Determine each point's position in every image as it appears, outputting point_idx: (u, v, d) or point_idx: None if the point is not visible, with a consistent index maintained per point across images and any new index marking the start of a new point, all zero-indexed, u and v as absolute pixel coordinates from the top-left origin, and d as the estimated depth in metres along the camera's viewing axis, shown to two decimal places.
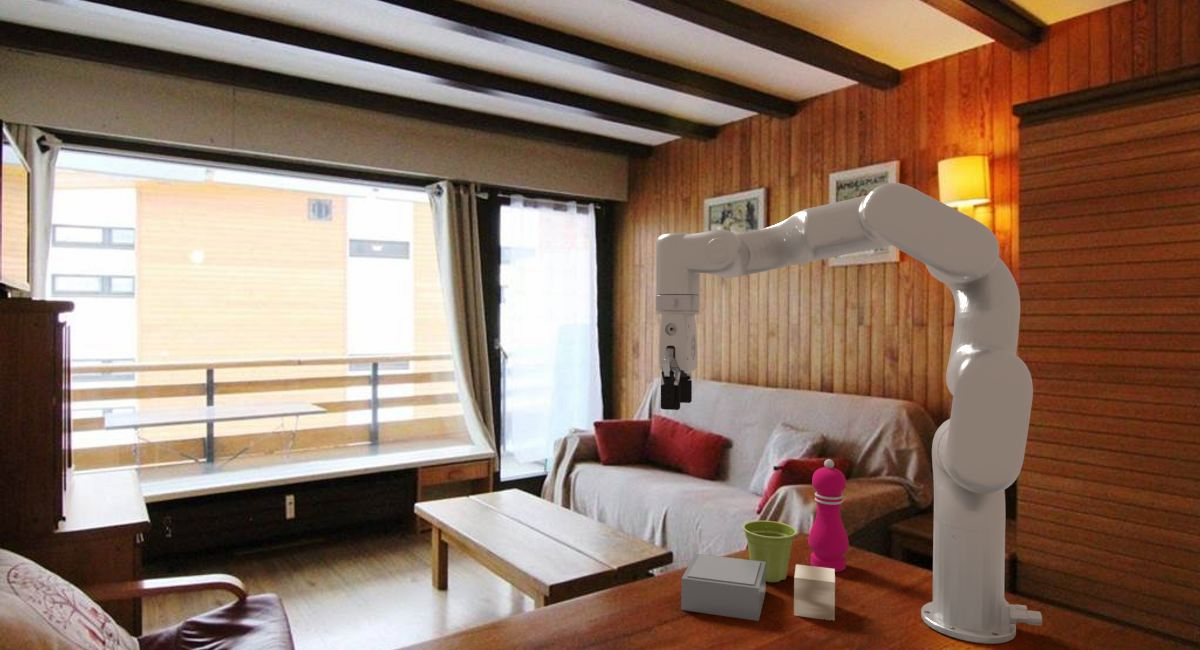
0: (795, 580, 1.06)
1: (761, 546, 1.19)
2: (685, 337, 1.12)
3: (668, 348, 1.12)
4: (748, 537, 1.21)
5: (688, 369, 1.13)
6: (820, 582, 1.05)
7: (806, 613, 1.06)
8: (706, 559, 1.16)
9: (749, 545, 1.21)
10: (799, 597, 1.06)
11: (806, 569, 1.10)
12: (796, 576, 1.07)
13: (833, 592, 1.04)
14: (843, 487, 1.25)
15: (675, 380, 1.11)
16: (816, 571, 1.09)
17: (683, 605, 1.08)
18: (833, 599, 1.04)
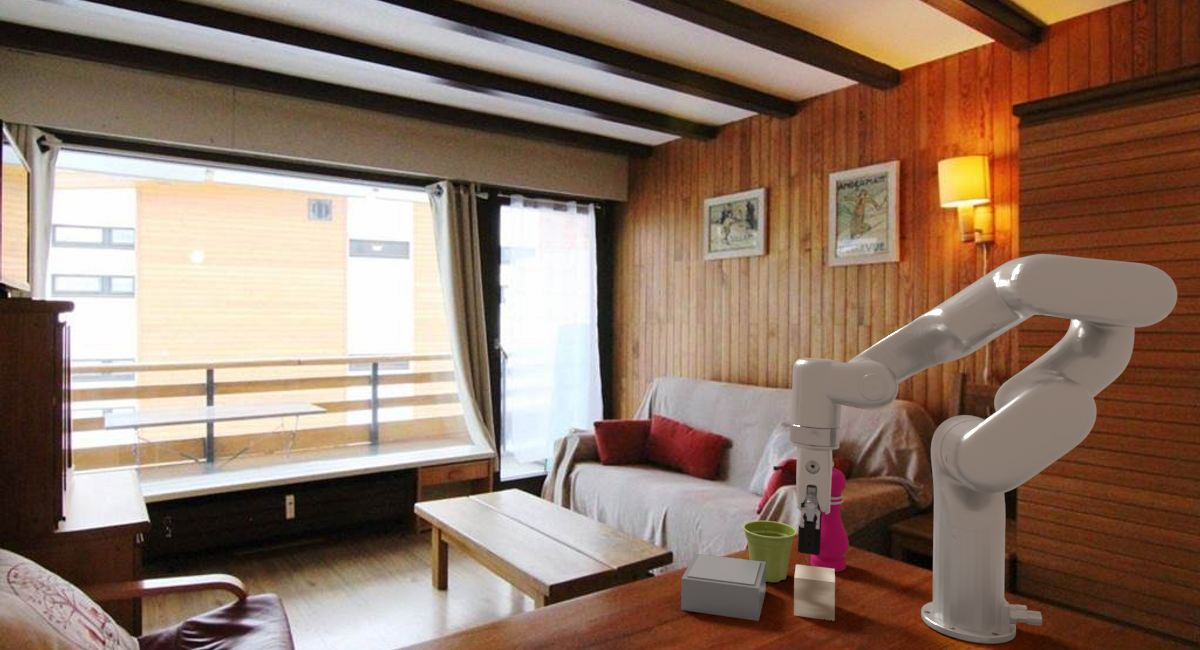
0: (795, 580, 1.06)
1: (762, 546, 1.19)
2: (828, 477, 1.03)
3: (809, 488, 1.03)
4: (748, 537, 1.21)
5: (829, 510, 1.04)
6: (820, 582, 1.05)
7: (806, 613, 1.06)
8: (706, 559, 1.16)
9: (749, 545, 1.21)
10: (799, 597, 1.06)
11: (806, 569, 1.10)
12: (796, 576, 1.07)
13: (833, 592, 1.04)
14: (843, 487, 1.25)
15: (817, 524, 1.02)
16: (816, 571, 1.09)
17: (683, 605, 1.08)
18: (833, 599, 1.04)
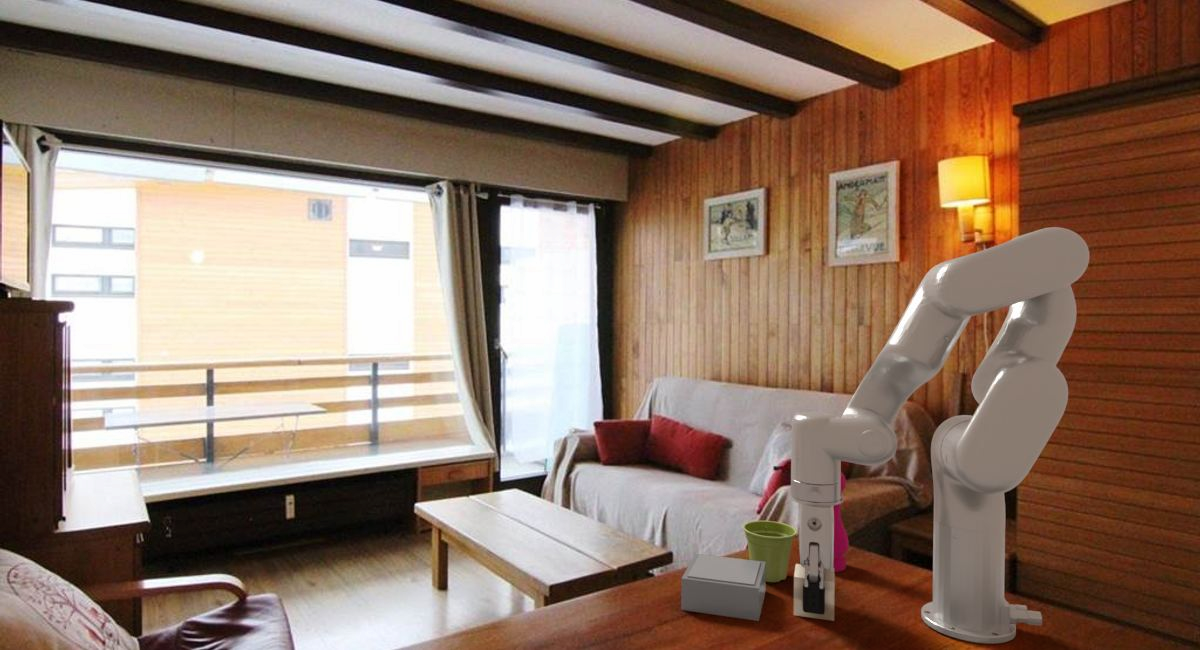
0: (795, 579, 1.06)
1: (761, 546, 1.19)
2: (830, 533, 1.03)
3: (811, 548, 1.03)
4: (748, 537, 1.21)
5: (832, 567, 1.04)
6: None
7: (806, 612, 1.06)
8: (706, 559, 1.16)
9: (749, 545, 1.21)
10: (799, 596, 1.06)
11: None
12: (796, 575, 1.07)
13: (833, 591, 1.04)
14: (843, 487, 1.25)
15: (821, 585, 1.04)
16: None
17: (683, 605, 1.08)
18: (833, 598, 1.04)
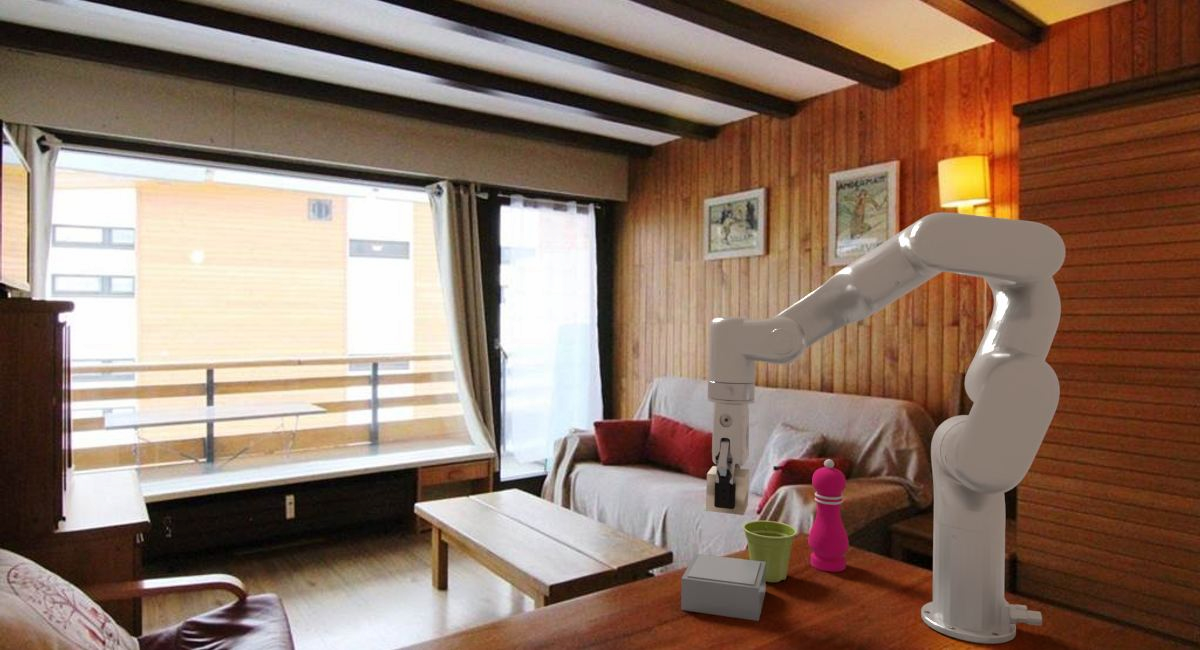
0: (708, 476, 1.09)
1: (762, 546, 1.19)
2: (741, 429, 1.06)
3: (722, 444, 1.07)
4: (748, 537, 1.21)
5: (743, 463, 1.07)
6: None
7: (717, 508, 1.09)
8: (706, 559, 1.16)
9: (749, 545, 1.21)
10: (711, 492, 1.09)
11: None
12: (709, 473, 1.10)
13: (743, 487, 1.08)
14: (843, 487, 1.25)
15: (731, 480, 1.07)
16: (730, 470, 1.12)
17: (683, 605, 1.08)
18: (743, 494, 1.08)
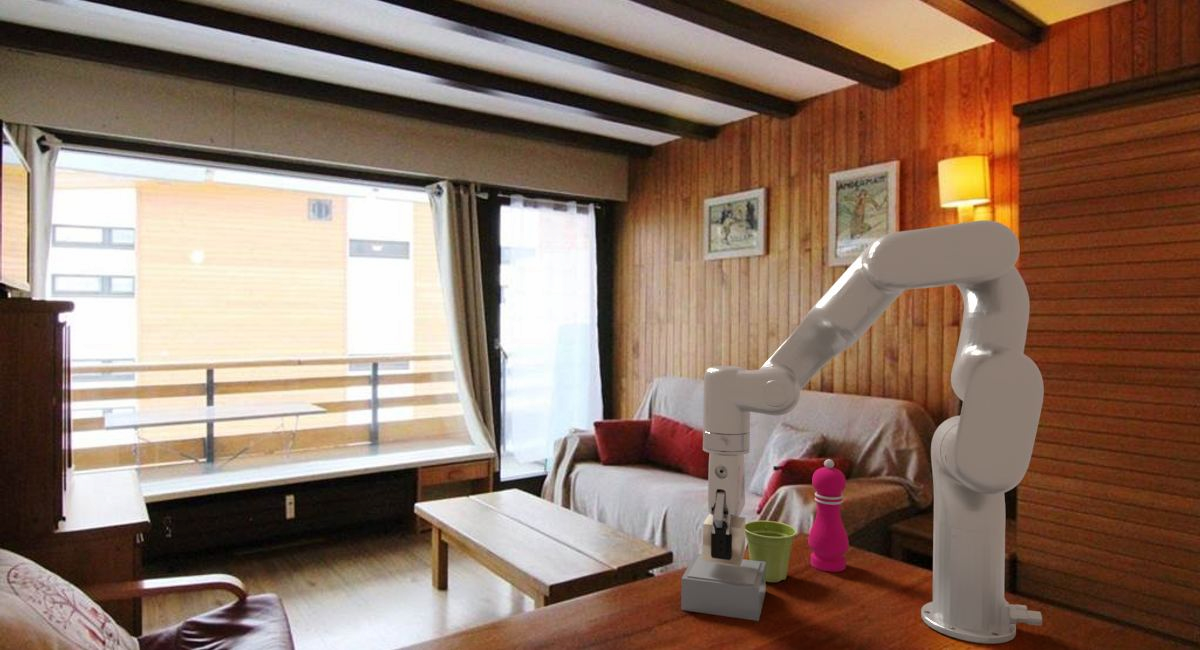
0: (704, 526, 1.10)
1: (762, 546, 1.19)
2: (736, 481, 1.06)
3: (718, 495, 1.07)
4: (748, 537, 1.21)
5: (739, 513, 1.07)
6: None
7: (714, 558, 1.09)
8: None
9: (749, 545, 1.21)
10: (708, 542, 1.10)
11: None
12: (705, 523, 1.10)
13: (739, 537, 1.08)
14: (843, 487, 1.25)
15: (727, 531, 1.07)
16: (726, 519, 1.12)
17: (683, 605, 1.08)
18: (739, 544, 1.08)
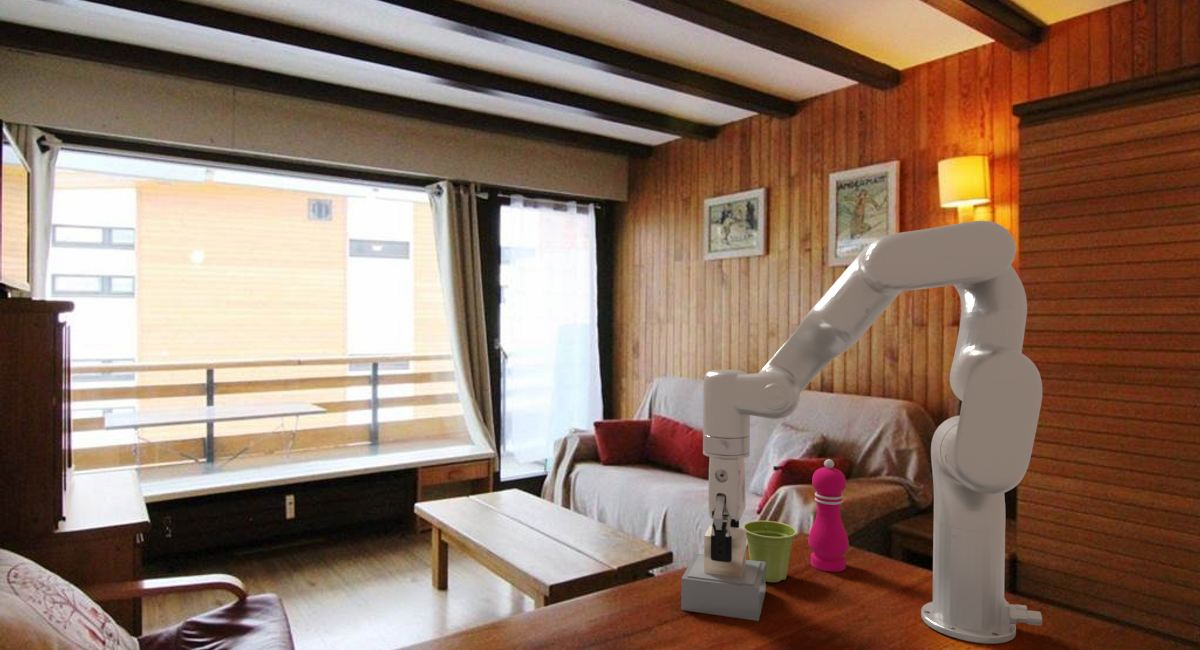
0: (705, 538, 1.10)
1: (762, 546, 1.19)
2: (736, 485, 1.06)
3: (718, 497, 1.07)
4: (748, 537, 1.21)
5: (739, 517, 1.07)
6: None
7: (715, 570, 1.09)
8: None
9: (749, 545, 1.21)
10: (709, 554, 1.09)
11: None
12: (706, 534, 1.10)
13: (740, 549, 1.08)
14: (843, 487, 1.25)
15: (727, 532, 1.06)
16: None
17: (683, 605, 1.08)
18: (740, 556, 1.08)
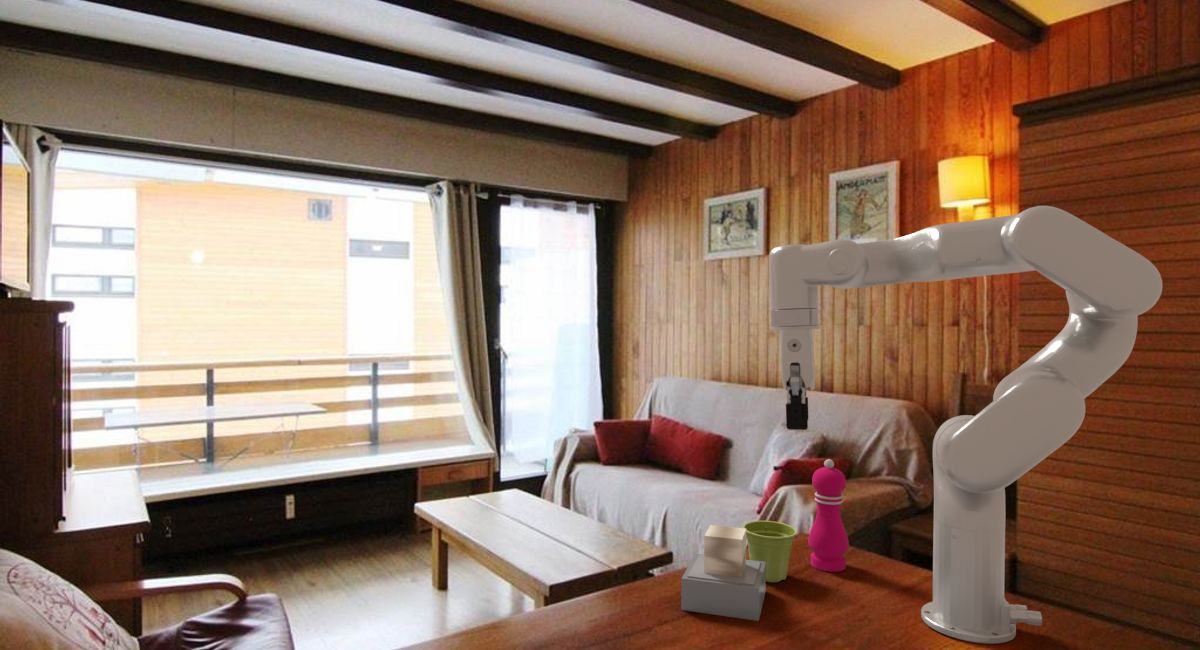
0: (705, 538, 1.10)
1: (762, 546, 1.19)
2: (810, 353, 1.07)
3: (792, 365, 1.07)
4: (748, 537, 1.21)
5: (814, 386, 1.08)
6: (728, 539, 1.09)
7: (715, 570, 1.09)
8: None
9: (749, 545, 1.21)
10: (709, 554, 1.09)
11: (718, 529, 1.13)
12: (706, 534, 1.10)
13: (740, 549, 1.08)
14: (843, 487, 1.25)
15: (803, 398, 1.06)
16: (727, 530, 1.12)
17: (683, 605, 1.08)
18: (740, 556, 1.08)
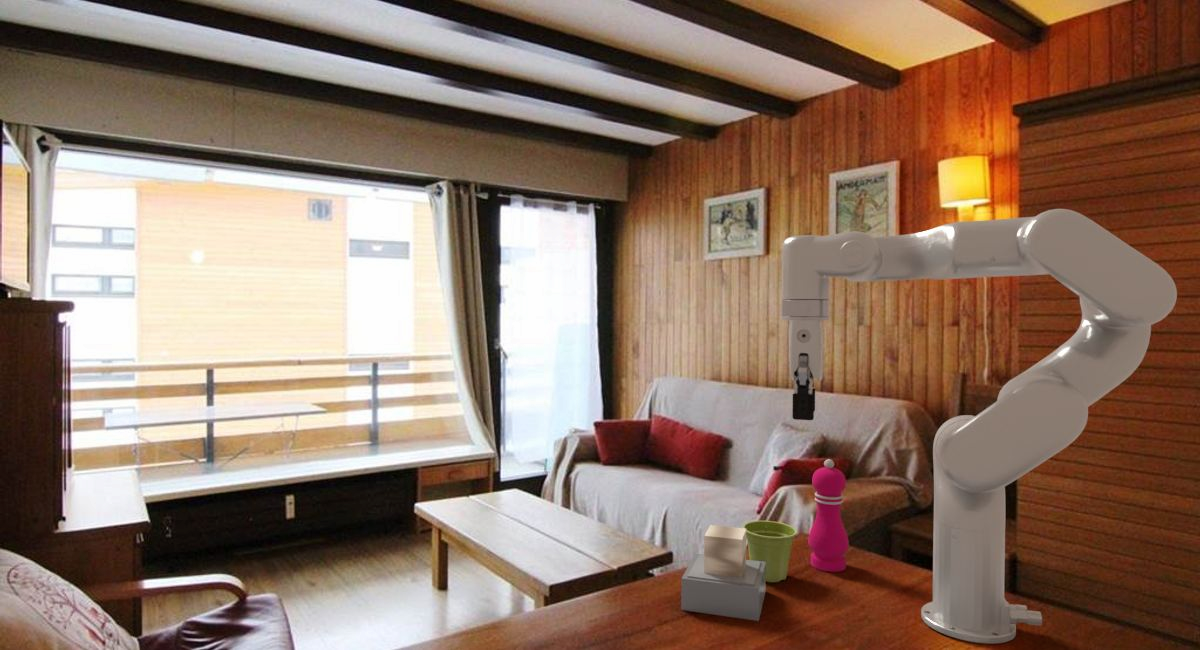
0: (705, 538, 1.10)
1: (761, 546, 1.19)
2: (819, 344, 1.07)
3: (801, 355, 1.07)
4: (748, 537, 1.21)
5: (821, 377, 1.08)
6: (728, 539, 1.09)
7: (715, 570, 1.09)
8: None
9: (749, 545, 1.21)
10: (709, 554, 1.09)
11: (718, 529, 1.13)
12: (706, 534, 1.10)
13: (740, 549, 1.08)
14: (843, 487, 1.25)
15: (810, 389, 1.06)
16: (727, 530, 1.12)
17: (683, 605, 1.08)
18: (740, 556, 1.08)
